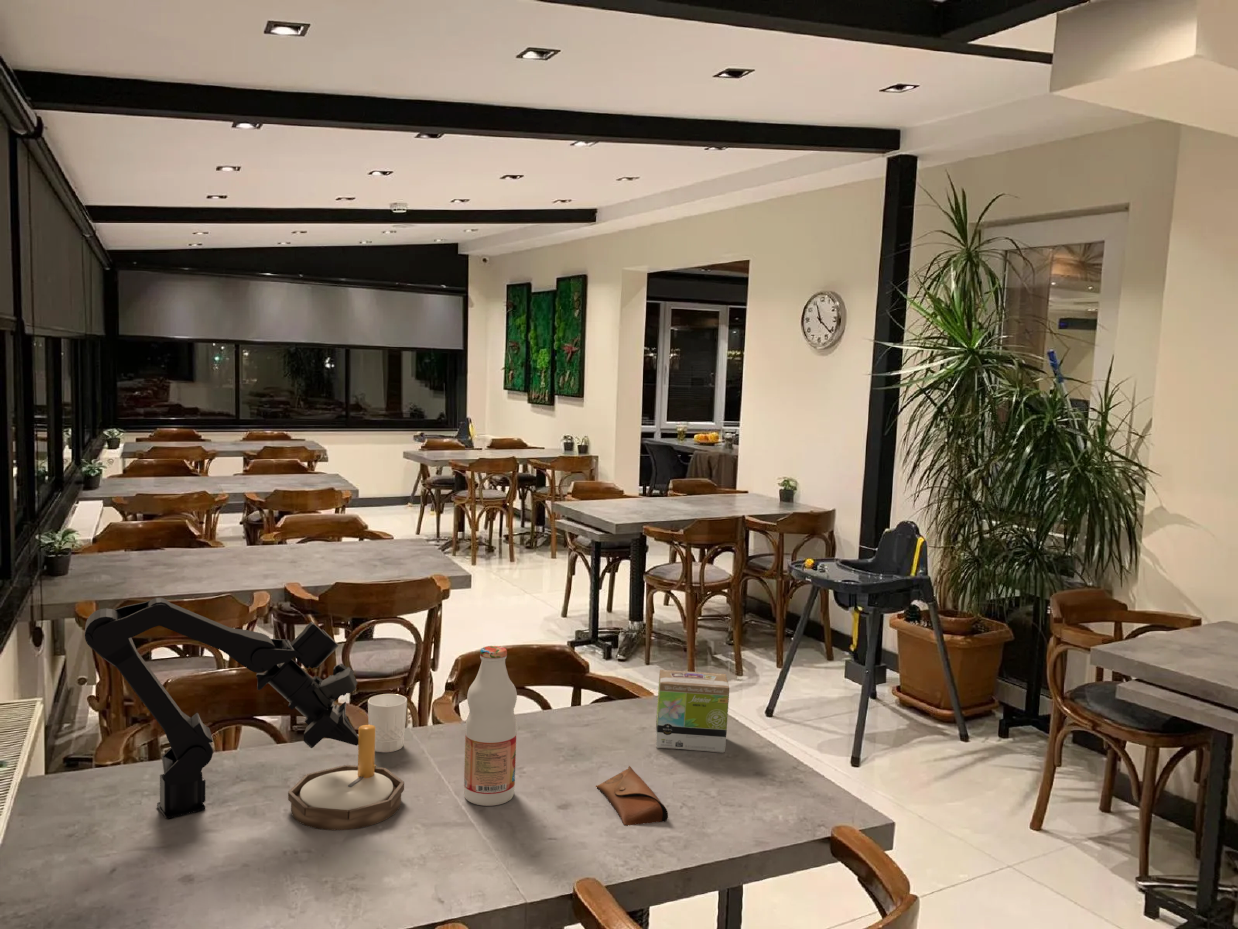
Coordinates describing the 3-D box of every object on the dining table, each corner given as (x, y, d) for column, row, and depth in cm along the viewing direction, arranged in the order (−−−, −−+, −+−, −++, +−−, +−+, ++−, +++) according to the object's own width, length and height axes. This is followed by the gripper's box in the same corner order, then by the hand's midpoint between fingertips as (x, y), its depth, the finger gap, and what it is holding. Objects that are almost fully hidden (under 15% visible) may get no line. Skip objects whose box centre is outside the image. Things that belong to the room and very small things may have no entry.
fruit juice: (453, 794, 178) (457, 647, 176) (493, 781, 185) (497, 639, 182) (484, 812, 171) (488, 659, 169) (524, 797, 178) (529, 650, 176)
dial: (284, 808, 164) (284, 753, 164) (322, 771, 180) (323, 720, 179) (374, 817, 163) (375, 761, 162) (404, 778, 179) (406, 727, 178)
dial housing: (316, 841, 158) (316, 819, 158) (274, 799, 173) (275, 779, 173) (419, 811, 171) (420, 791, 170) (372, 774, 185) (373, 756, 185)
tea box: (655, 750, 204) (658, 682, 202) (655, 732, 214) (658, 668, 212) (726, 754, 203) (729, 686, 202) (722, 736, 213) (726, 671, 212)
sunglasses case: (591, 784, 185) (609, 754, 185) (620, 799, 187) (637, 769, 188) (624, 827, 168) (644, 793, 169) (655, 842, 170) (674, 809, 171)
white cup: (400, 755, 195) (401, 707, 194) (362, 753, 196) (363, 705, 195) (409, 740, 203) (410, 694, 202) (373, 738, 203) (373, 692, 202)
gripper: (323, 673, 166) (387, 733, 169) (336, 641, 184) (393, 695, 188) (276, 718, 166) (341, 777, 169) (293, 681, 184) (351, 735, 187)
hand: (358, 743), depth 178 cm, fingers closed, pressing on dial
